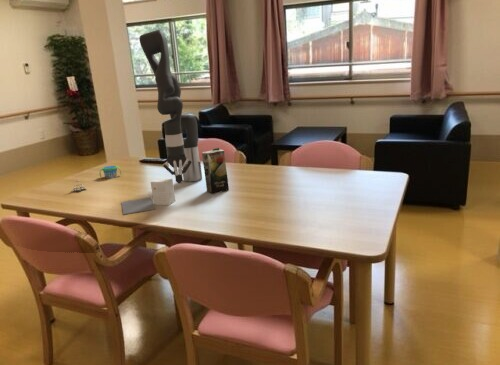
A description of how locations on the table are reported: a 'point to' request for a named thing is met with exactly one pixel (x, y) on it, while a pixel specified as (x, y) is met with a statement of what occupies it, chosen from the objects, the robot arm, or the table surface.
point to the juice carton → (215, 171)
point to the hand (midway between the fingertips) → (179, 182)
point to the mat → (137, 206)
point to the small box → (163, 191)
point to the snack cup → (110, 171)
